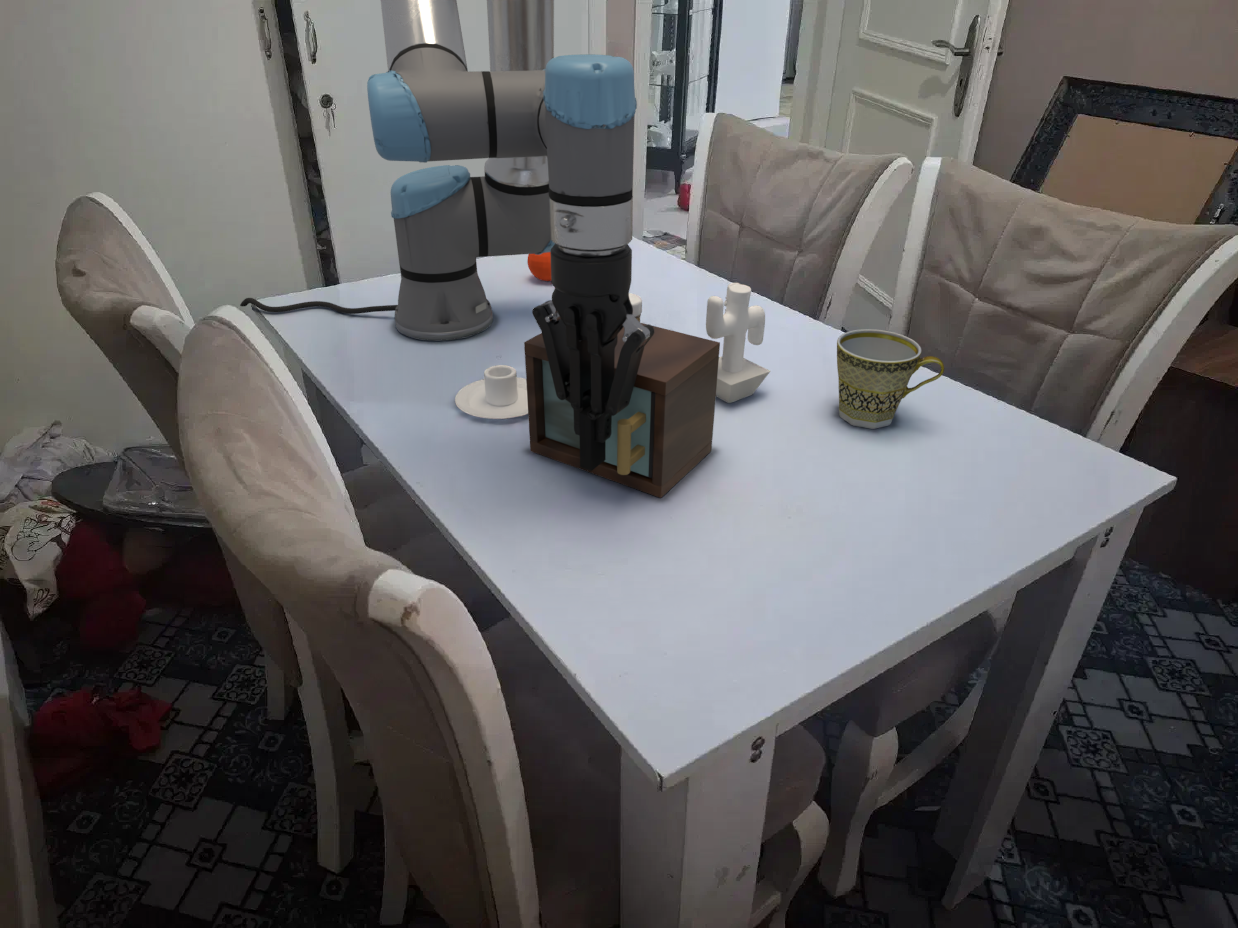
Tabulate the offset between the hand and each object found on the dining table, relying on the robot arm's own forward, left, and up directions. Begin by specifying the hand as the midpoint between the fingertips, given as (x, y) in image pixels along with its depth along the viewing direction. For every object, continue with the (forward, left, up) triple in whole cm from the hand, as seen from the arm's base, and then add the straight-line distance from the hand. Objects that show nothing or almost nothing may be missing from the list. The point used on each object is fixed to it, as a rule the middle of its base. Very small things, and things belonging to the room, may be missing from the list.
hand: (592, 463), depth 87 cm
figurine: (+2, +30, -4) cm, 31 cm away
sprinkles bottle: (-10, +22, -4) cm, 25 cm away
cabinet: (-2, +9, -4) cm, 11 cm away
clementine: (-46, +53, -4) cm, 71 cm away
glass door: (+1, +2, -2) cm, 3 cm away
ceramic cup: (+21, +34, -4) cm, 40 cm away
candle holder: (-22, +11, -4) cm, 26 cm away
